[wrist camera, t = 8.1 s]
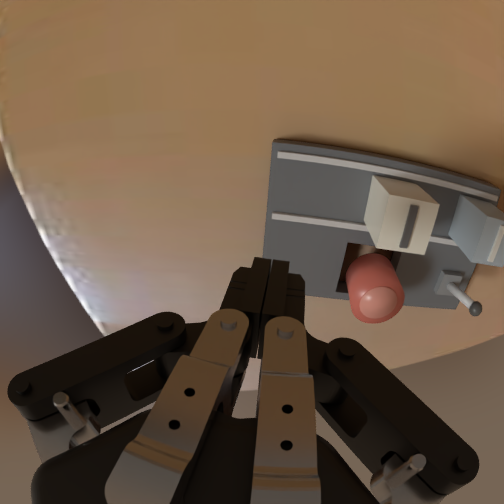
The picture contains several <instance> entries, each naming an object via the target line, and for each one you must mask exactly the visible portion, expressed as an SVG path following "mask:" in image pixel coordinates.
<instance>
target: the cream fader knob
mask: <svg viewBox="0 0 504 504" xmlns="http://www.w3.org/2000/svg"><path fill="white" fill-rule="evenodd" d="M439 206H440V204H438V203H437V202H436V201H435V200H434V199H433V198H432V197H431V196H430V195H429V194H427V193H426V192H425V191H424V190H423V189H422V188H421V187H419V186H418V185H417V184H416V183H411V182H406V181H401V180H396V179H391V178H386V177H381V176H376V175H373V176H372V181H371V186H370V192H369V197H368V201H367V206H366V211H365V216H364V222H365V224H366V226H367V229H368V231H369V233H370V235H371V238H372V240H373V242H374V244H375V247H376V248H379V249H386V250H393V251H400V252H407V253H414V254H421V255H424V254H425V251H426V249H427V246H428V242H429V239H430V236H431V233H432V230H433V227H434V223H435V220H436V216H437V213H438V209H439Z"/></svg>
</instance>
